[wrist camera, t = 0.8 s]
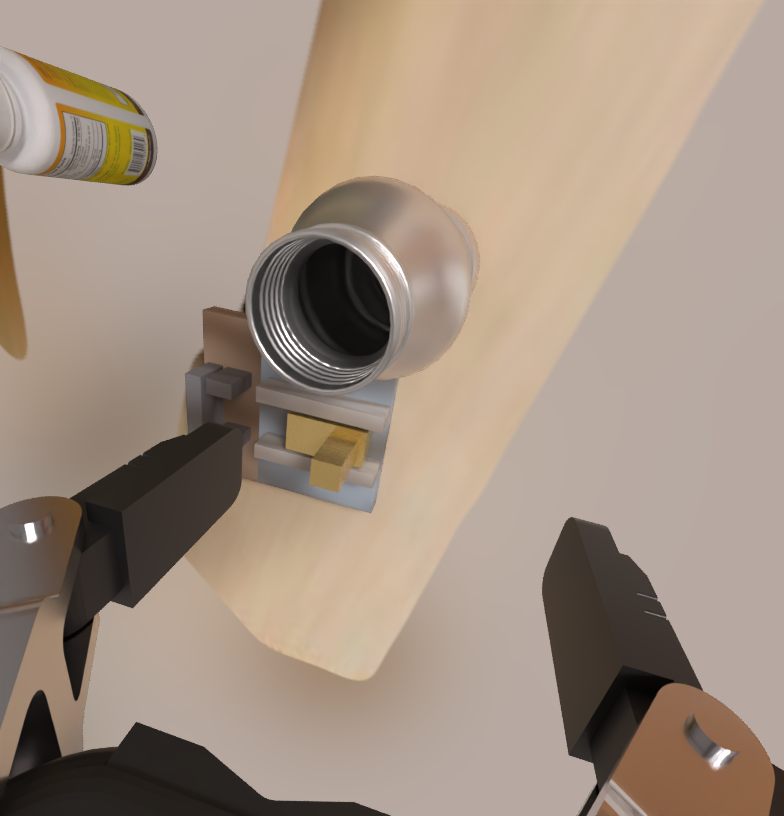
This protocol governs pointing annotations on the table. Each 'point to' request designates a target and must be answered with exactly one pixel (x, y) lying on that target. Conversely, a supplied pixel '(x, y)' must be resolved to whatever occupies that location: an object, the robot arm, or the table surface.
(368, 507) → the lock board
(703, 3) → the table surface
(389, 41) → the table surface
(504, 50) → the table surface
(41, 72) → the supplement bottle
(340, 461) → the bolt
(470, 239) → the silver threaded hollow container
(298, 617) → the table surface
